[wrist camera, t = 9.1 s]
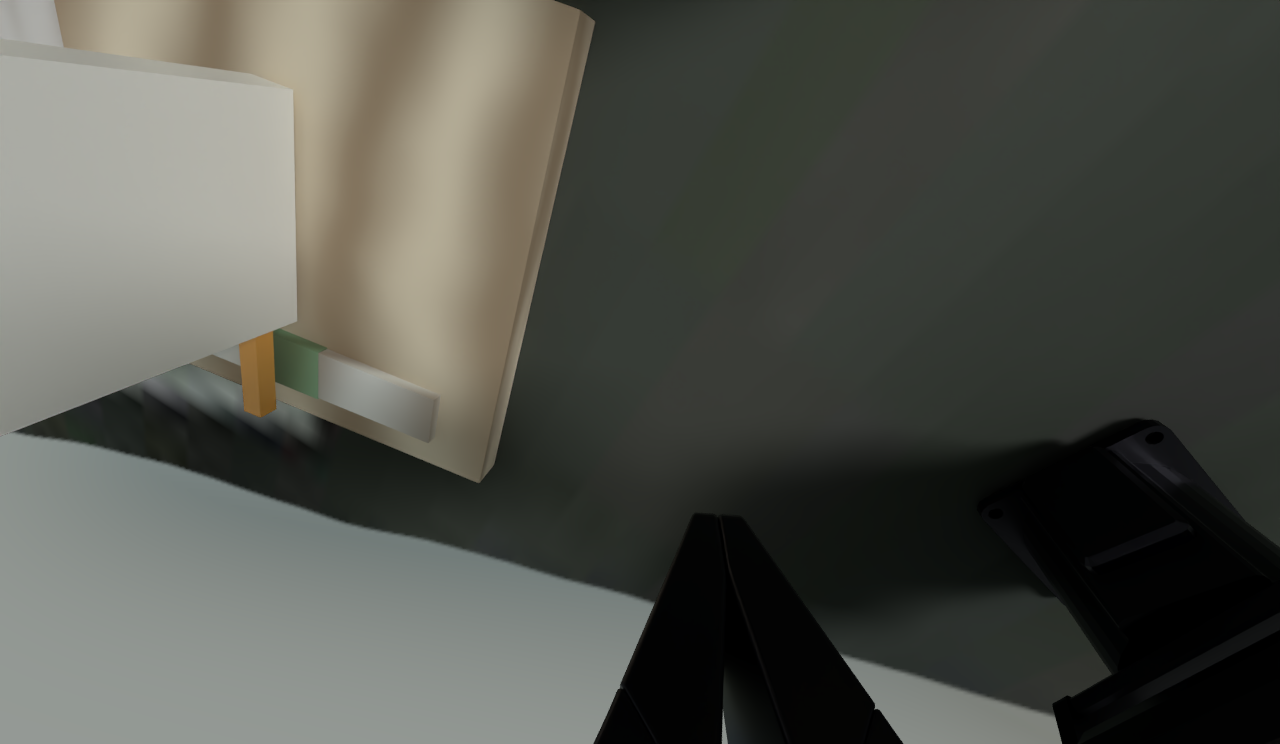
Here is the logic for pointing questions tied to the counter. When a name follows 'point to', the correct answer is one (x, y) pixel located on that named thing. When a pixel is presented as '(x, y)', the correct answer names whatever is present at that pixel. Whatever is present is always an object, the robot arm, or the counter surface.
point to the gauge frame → (387, 189)
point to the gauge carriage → (138, 225)
